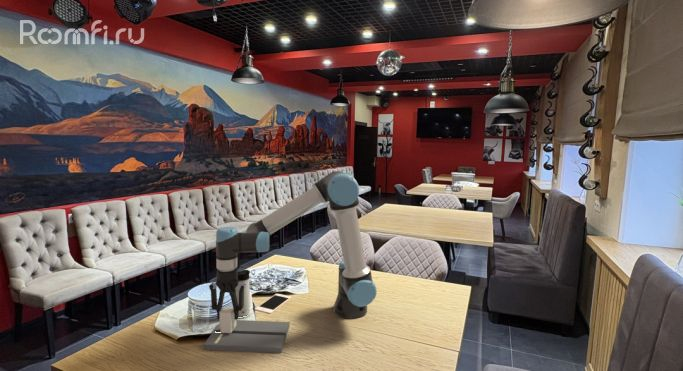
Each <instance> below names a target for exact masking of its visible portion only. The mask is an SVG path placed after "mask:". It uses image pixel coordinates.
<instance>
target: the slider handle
mask: <svg viewBox="0 0 683 371" xmlns="http://www.w3.org/2000/svg"><path fill="white" fill-rule="evenodd" d="M222 309H223V310H222V311H221V312H220V319H219V323H220V325H221V333H231V332H232V331H233V329H232V312H233V310H234V309H233V306H227V305H226V306H223V307H222Z"/></svg>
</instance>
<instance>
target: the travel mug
mask: <svg viewBox="0 0 683 371" xmlns="http://www.w3.org/2000/svg"><path fill="white" fill-rule="evenodd" d="M250 273H251V271H250V270H249V269H241V270H238V281H239V283H241V284H246V286H245V288H244V307H243V309H242V310H241V311H239V317H243V316H247V315H248V314H249V313H250V311H251V309H250V304H251V303H250V302H251V301H250V288H251V287H250ZM235 290H236V296H237V301H238V305H239V289H238V286H237V287H236V288H235Z"/></svg>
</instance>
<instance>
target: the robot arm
mask: <svg viewBox="0 0 683 371" xmlns="http://www.w3.org/2000/svg"><path fill="white" fill-rule="evenodd" d="M359 194H360V186H359V183H358V181H357V180H356V179H355V177H353V176H352V175H351V174H349V173H346V172H343V171H338V170H335V171H331V172H329V173H328V174H326V175H325V176H324V177H322V178H321V179H319V180H318V181H316V182H314V183H313V184H312V187H311V188H309V189H308V190H306V191H305V192H303V193H302V194H300V195H298V196H296V197H295V198H293V199H292V200H290V201H288V202H287V203H285V204H284V205H282V206H281V207H278V209H276V210H274V211H272V212H271V213H269V214H268V215H266V216H265V217H263V218H261V219H260V220H258V221H257V222H252V223H251V224H249V225H248V226H247V228H246V231H245V232H238V229H237V227H234V226H222V227H219V228H218V229H217V230H216V232H215V233H216V234H215V237H216V238H215V248H216V249H215V251H216V252H215V253H216V281H215V282H211V283H210V284H209V286H208V287H209V290H210V303H211V309H212V310H214V311H216V318H217V320H220V312H221V311H222V310H223V305H224V299H225V295H226V293H228V294H229V296H230V300H231V303H232V304H231V305H232V307H233V309H234V310H233V312H232V329H234V328H235V327H236V320H239V318H238V317H239V311H241V310H242V309H243V307H244V288H245V286H246V284H241V283H239V281H238V271H239V270H238V253H240V254H241V253H242V254H243V253H246V254H247V253H264V252H269V250H270V236H271V235H273V234H274V233H275V232H277V231H279V230H280V229H282V228H284V227H285V226H287V225H288V224H291V222H293V221H295V220H296V219H298V218H299V217H301V216H303V215H304V214H307V213H308V212H309V211H311V210H312V209H314V208H316V207H317V206H319V205H321V204H327V203H328V204H329V209H330V211H332V212H333V213H334V214H335V222H336V225H337V231H338V232H337V233H338V236H339V242H340V243H339V244H340V247H341V252H342V259H343V260H342V261H340V262H339V263H338V282H337V283H338V288H337V290H338V291H337V292H338V293H337V296H336V299H335V301H334V304H333V311H334V313H335V314H336V315H337V316H339V317H340V318H341V317H342V318H344V319H346V318H347V319H359V318H362V317H364V316H365V315H367V313H368V305H370V304H372V303H373V301H375V299H376V296H377V293H378V292H377V286H376V284H375V283H374V282H373V277H372V276H373V275H372V270H371V267H370V266H369V265H367V263H366V259H365V258H366V256H365V253H364V245H363V241H362V240H363V239H362V235H361V230H360V224H359V218H358V213H357V209H358V207H359V206H360V202H359ZM237 286H238V289H239V305H238V301H237V296H236V290H235V288H236V287H237ZM217 288H218V289H219V294H217V293H218V292H217V291H218V290H217ZM217 295H218V296H217ZM220 328H221V325H220Z"/></svg>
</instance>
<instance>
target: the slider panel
mask: <svg viewBox="0 0 683 371" xmlns="http://www.w3.org/2000/svg"><path fill="white" fill-rule="evenodd" d="M290 325H291V323H290V321H274V320H273V321H272V320H270V321H269V320H268V321H267V320H248V319H247V320H245V319H244V320H243V319H237V320H236V327H235V328H234V329H233V331H232V332H231V333H215V331H216V332H221V328H220V322H219V323H218V324H217V325H216V327H215V328H214V332H212V333H211V334H210V335H209V337H208V338H207V339H206V341H205V342H204V343H203V350H204V351H225V352H227V351H229V352H232V351H233V352H250V353H252V352H253V353H254V352H255V353H272V354H273V353H280V354H281V353H282V350H283V349H284V348H283V347H284V345H285V343H286V342H285V341H286V338H287V336H288V333H289V330H290Z"/></svg>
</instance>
